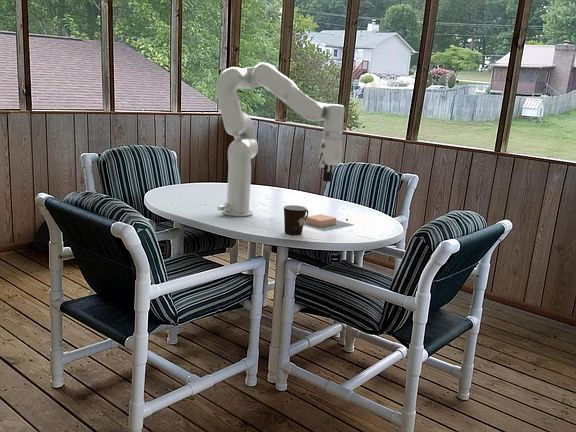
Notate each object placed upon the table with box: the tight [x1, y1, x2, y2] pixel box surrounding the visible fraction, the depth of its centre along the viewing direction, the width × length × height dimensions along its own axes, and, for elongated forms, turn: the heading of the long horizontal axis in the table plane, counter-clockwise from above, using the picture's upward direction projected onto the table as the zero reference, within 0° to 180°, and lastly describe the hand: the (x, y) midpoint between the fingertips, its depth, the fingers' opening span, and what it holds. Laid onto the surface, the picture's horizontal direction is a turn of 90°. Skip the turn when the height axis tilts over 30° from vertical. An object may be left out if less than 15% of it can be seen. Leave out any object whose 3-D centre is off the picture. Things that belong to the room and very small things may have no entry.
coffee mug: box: [283, 204, 309, 237], centre depth 210 cm, size 12×9×10 cm
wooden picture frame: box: [305, 213, 337, 227], centre depth 227 cm, size 3×8×10 cm
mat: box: [303, 219, 354, 232], centre depth 228 cm, size 20×18×1 cm
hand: (326, 181), depth 225 cm, fingers closed
